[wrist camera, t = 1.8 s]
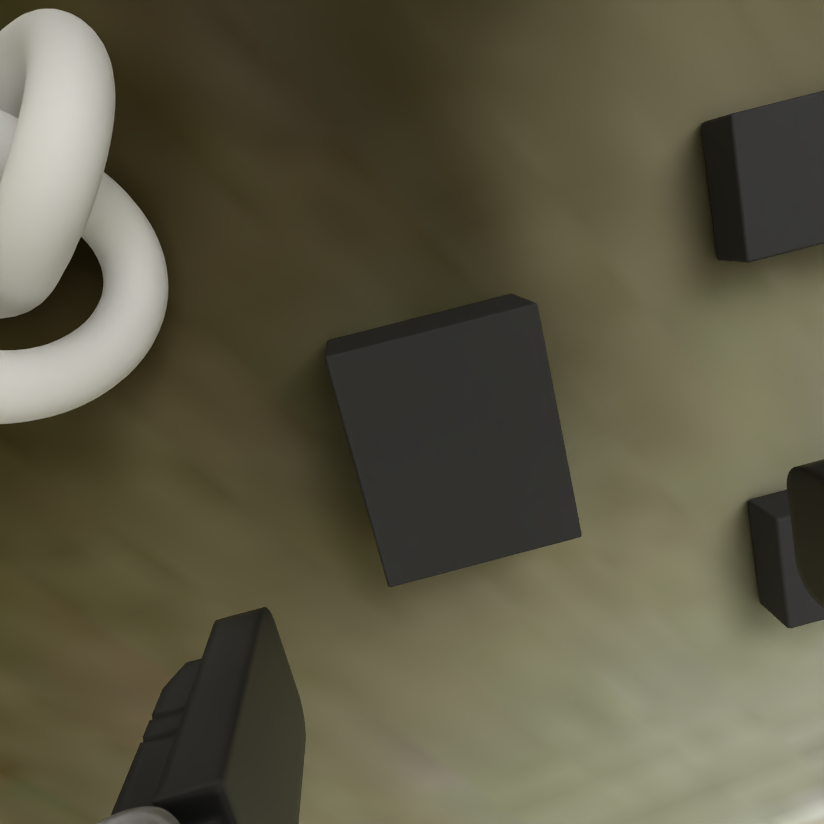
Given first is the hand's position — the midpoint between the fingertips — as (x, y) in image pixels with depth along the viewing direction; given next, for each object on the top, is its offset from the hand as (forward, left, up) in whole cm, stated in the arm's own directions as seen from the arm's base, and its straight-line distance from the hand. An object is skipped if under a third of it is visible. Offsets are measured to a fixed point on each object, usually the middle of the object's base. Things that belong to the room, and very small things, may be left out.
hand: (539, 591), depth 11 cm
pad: (0, 0, -9) cm, 9 cm away
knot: (-8, -8, -9) cm, 15 cm away
